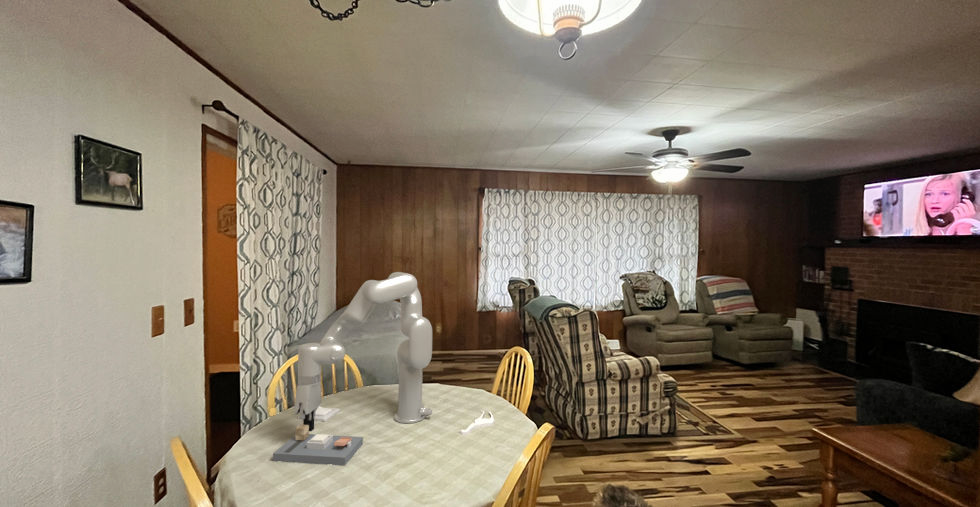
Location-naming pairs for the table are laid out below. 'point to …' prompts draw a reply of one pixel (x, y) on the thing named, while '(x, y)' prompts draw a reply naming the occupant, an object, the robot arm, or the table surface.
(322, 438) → the push button
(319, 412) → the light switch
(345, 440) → the rocker paddle
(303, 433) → the slider knob
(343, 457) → the switch panel
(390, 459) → the table surface
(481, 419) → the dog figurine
